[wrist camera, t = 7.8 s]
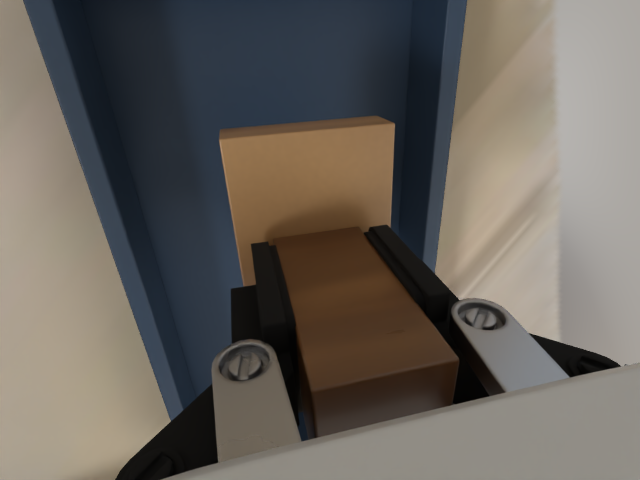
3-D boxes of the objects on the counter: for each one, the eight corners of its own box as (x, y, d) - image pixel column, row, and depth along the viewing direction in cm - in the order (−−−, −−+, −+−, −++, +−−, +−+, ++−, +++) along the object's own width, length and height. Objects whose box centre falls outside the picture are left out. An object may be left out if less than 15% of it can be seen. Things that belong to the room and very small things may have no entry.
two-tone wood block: (219, 128, 11) (210, 236, 5) (377, 115, 12) (555, 190, 6) (256, 353, 15) (279, 577, 9) (372, 331, 16) (471, 519, 10)
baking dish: (54, -24, 14) (5, -45, 11) (425, -30, 16) (473, -48, 13) (195, 430, 26) (192, 483, 23) (395, 384, 28) (417, 425, 25)
